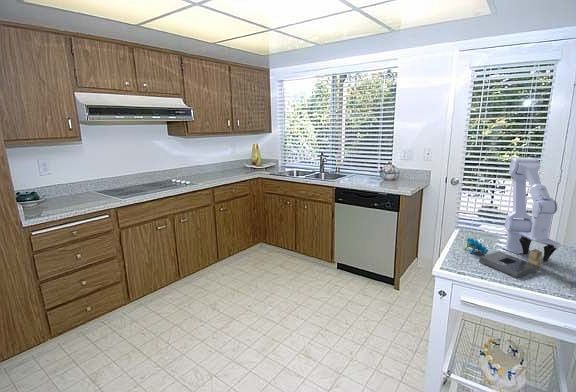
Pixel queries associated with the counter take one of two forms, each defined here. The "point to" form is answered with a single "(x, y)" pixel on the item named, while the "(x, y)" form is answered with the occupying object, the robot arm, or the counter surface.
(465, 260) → the counter surface
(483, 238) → the counter surface
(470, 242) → the blue irregular piece
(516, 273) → the gray slab with hole
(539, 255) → the tan wooden beam
